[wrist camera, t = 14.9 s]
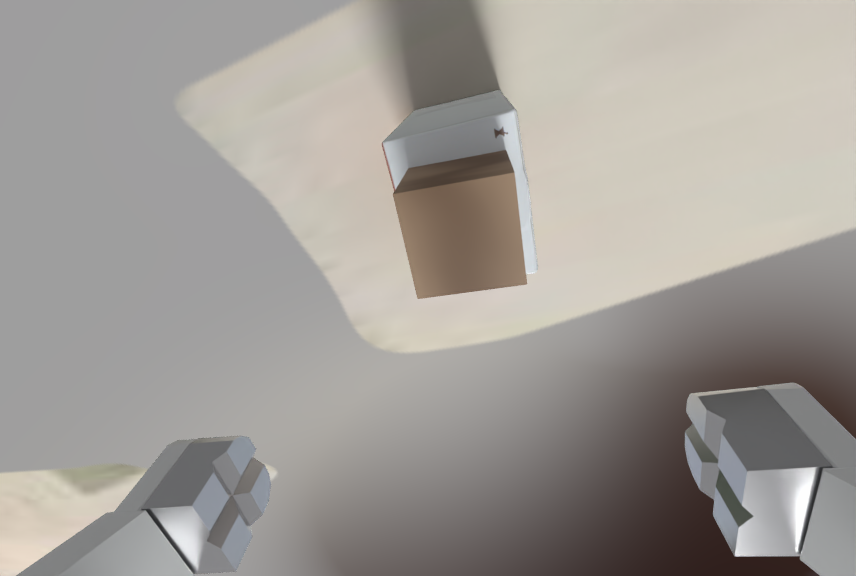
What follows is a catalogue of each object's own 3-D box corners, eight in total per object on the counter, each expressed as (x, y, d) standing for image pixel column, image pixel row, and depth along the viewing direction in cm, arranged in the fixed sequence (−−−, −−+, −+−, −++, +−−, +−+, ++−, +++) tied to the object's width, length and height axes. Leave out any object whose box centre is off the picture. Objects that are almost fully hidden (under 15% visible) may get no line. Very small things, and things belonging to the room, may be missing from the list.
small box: (412, 109, 31) (377, 138, 20) (501, 87, 30) (519, 104, 19) (437, 216, 35) (420, 294, 23) (518, 200, 34) (542, 273, 22)
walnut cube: (506, 149, 20) (514, 172, 16) (517, 243, 22) (526, 284, 18) (408, 167, 20) (392, 194, 16) (427, 256, 22) (417, 298, 18)
